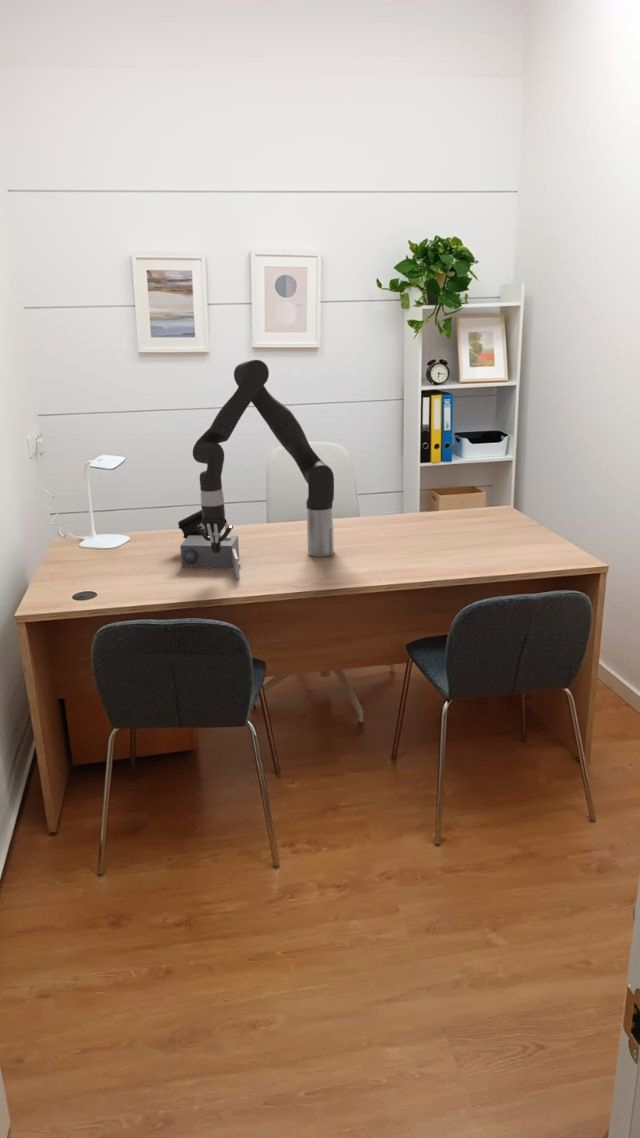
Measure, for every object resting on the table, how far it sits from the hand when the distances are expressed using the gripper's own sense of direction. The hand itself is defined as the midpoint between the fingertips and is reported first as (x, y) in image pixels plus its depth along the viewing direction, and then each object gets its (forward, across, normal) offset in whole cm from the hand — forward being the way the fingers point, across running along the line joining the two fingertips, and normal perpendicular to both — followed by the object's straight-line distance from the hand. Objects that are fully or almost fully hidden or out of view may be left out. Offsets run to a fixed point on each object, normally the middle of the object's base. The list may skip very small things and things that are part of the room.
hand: (216, 552), depth 286 cm
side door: (+8, +5, +3) cm, 10 cm away
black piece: (+8, -19, +26) cm, 33 cm away
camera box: (+8, -8, +13) cm, 17 cm away
